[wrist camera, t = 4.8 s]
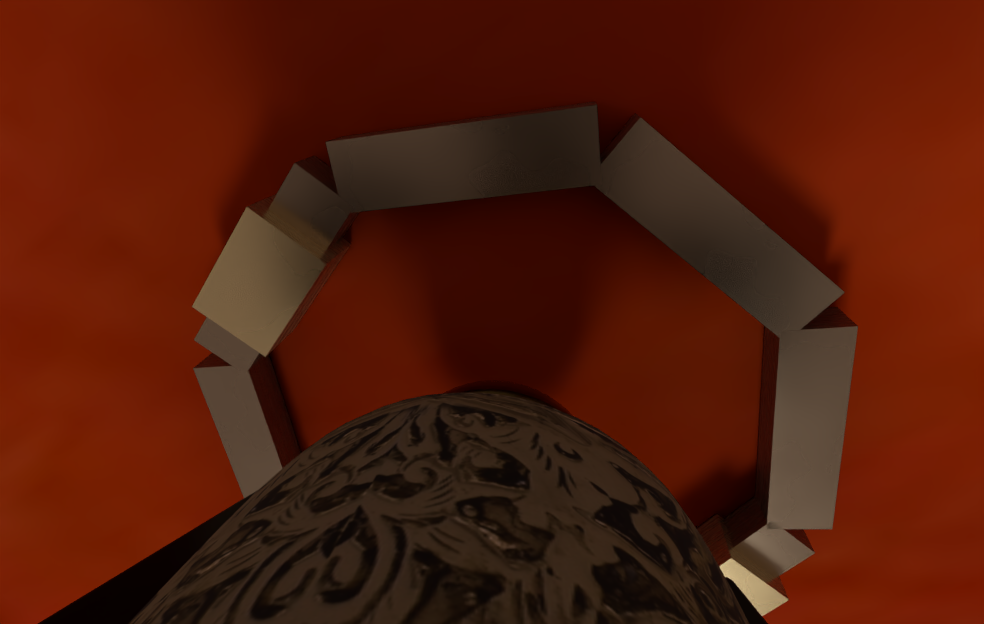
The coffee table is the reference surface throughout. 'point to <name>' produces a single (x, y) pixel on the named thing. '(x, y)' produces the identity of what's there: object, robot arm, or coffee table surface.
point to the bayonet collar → (524, 169)
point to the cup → (456, 528)
